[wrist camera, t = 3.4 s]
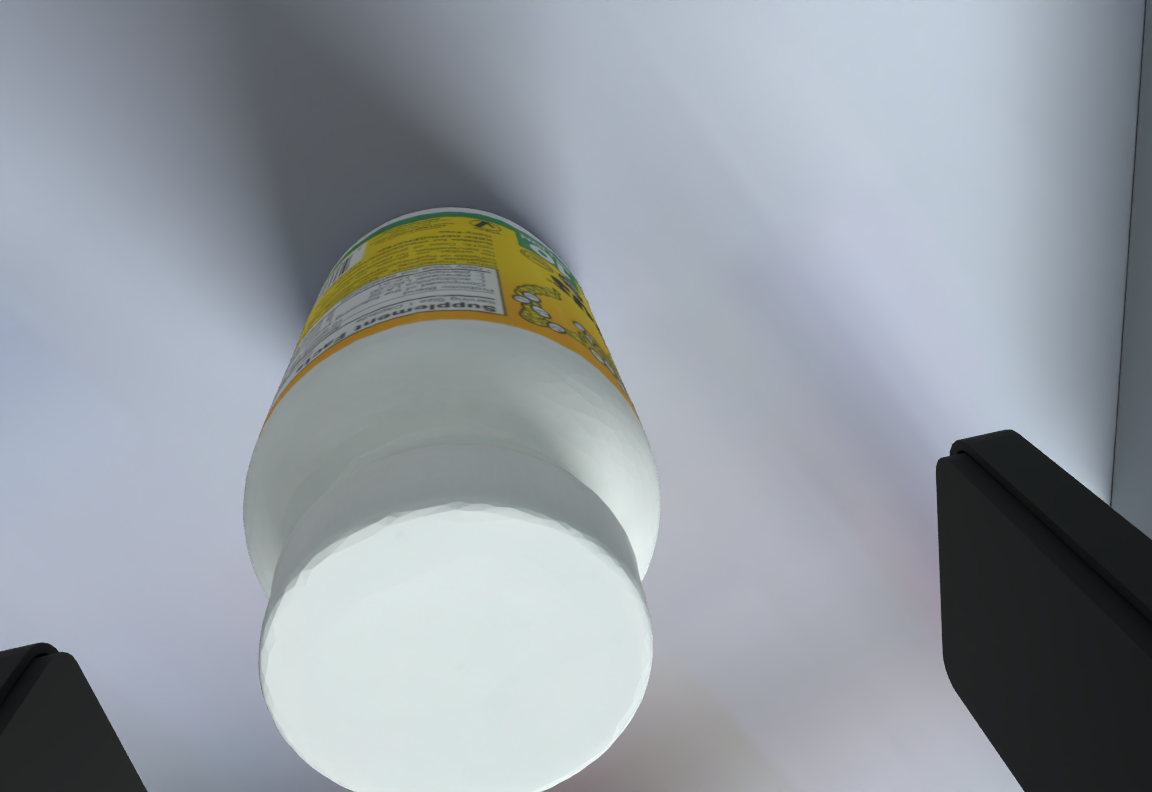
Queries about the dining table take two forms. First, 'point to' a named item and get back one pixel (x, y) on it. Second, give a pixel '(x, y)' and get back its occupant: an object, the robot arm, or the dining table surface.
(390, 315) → the supplement bottle
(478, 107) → the dining table surface
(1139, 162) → the plinth
